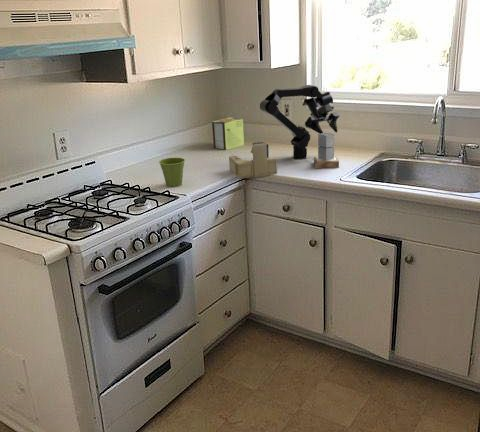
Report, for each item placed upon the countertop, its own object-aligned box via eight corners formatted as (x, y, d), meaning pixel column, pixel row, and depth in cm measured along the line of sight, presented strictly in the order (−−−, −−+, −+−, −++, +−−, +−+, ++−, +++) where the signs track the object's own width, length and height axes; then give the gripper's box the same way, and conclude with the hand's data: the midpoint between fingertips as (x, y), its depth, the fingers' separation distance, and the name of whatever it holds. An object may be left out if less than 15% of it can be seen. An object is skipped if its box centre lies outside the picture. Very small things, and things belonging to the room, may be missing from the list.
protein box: (244, 145, 315) (243, 118, 310) (225, 150, 305) (224, 122, 299) (231, 143, 322) (230, 117, 316) (213, 148, 311) (211, 121, 306)
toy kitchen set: (264, 166, 268) (263, 136, 263) (277, 174, 253) (276, 142, 248) (229, 171, 263) (227, 140, 258) (240, 179, 248) (238, 147, 243)
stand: (315, 168, 259) (315, 161, 258) (313, 162, 270) (313, 156, 269) (338, 167, 259) (338, 160, 258) (336, 161, 269) (336, 155, 268)
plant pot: (156, 187, 241) (153, 163, 237) (168, 180, 251) (166, 156, 247) (180, 189, 237) (177, 164, 233) (191, 181, 247) (189, 157, 243)
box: (269, 165, 269) (268, 144, 266) (258, 166, 267) (257, 145, 264) (263, 161, 276) (262, 141, 272) (252, 163, 274) (252, 142, 271)
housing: (318, 158, 264) (318, 134, 260) (325, 156, 267) (326, 132, 263) (326, 160, 259) (326, 135, 255) (334, 158, 262) (334, 134, 258)
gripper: (308, 100, 263) (323, 126, 258) (337, 96, 272) (352, 120, 267) (298, 114, 272) (312, 139, 267) (326, 110, 281) (340, 134, 276)
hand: (329, 133), depth 269 cm, fingers open, 9 cm apart
